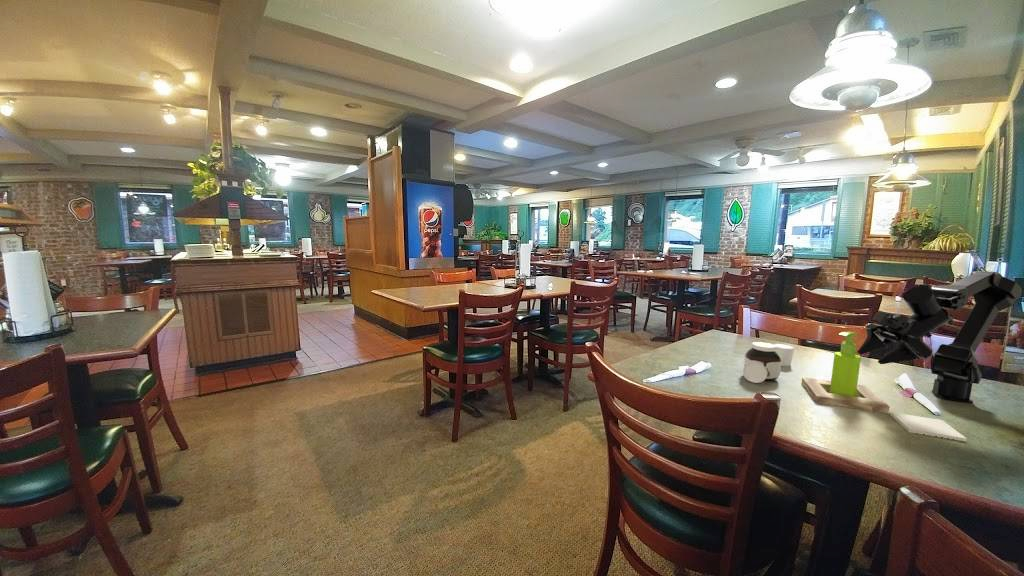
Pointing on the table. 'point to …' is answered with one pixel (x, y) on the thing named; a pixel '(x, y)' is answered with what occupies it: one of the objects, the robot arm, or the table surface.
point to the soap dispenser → (845, 367)
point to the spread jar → (762, 363)
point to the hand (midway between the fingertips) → (868, 357)
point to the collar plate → (844, 396)
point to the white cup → (785, 353)
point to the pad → (927, 426)
